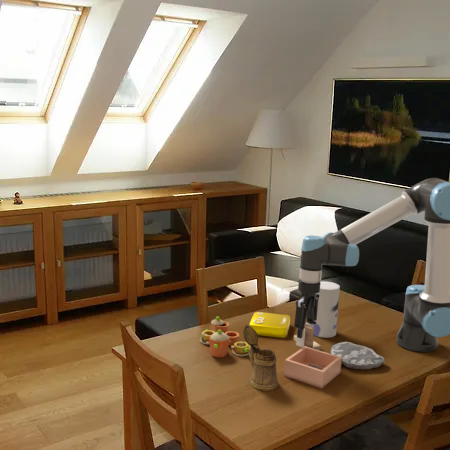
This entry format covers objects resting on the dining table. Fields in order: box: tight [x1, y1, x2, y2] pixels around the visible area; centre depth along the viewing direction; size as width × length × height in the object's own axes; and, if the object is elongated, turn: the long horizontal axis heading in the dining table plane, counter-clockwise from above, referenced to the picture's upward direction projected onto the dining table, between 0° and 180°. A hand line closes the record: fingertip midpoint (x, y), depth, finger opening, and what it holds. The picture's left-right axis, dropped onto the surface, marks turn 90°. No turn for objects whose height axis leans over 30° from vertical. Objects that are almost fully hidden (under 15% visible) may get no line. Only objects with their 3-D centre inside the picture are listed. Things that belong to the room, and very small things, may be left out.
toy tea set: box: [199, 315, 251, 358], centre depth 216 cm, size 26×16×10 cm, turn 22°
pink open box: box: [283, 346, 342, 389], centre depth 194 cm, size 14×14×6 cm
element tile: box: [249, 311, 291, 339], centre depth 232 cm, size 15×15×5 cm
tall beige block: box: [298, 325, 315, 350], centre depth 206 cm, size 4×2×12 cm, turn 55°
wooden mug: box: [242, 324, 279, 391], centre depth 187 cm, size 9×14×18 cm, turn 47°
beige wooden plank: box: [293, 334, 322, 351], centre depth 219 cm, size 12×4×2 cm, turn 25°
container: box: [313, 281, 341, 339], centre depth 228 cm, size 10×10×20 cm
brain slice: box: [330, 341, 386, 370], centre depth 206 cm, size 20×17×3 cm
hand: (303, 343), depth 205 cm, fingers open, 5 cm apart
